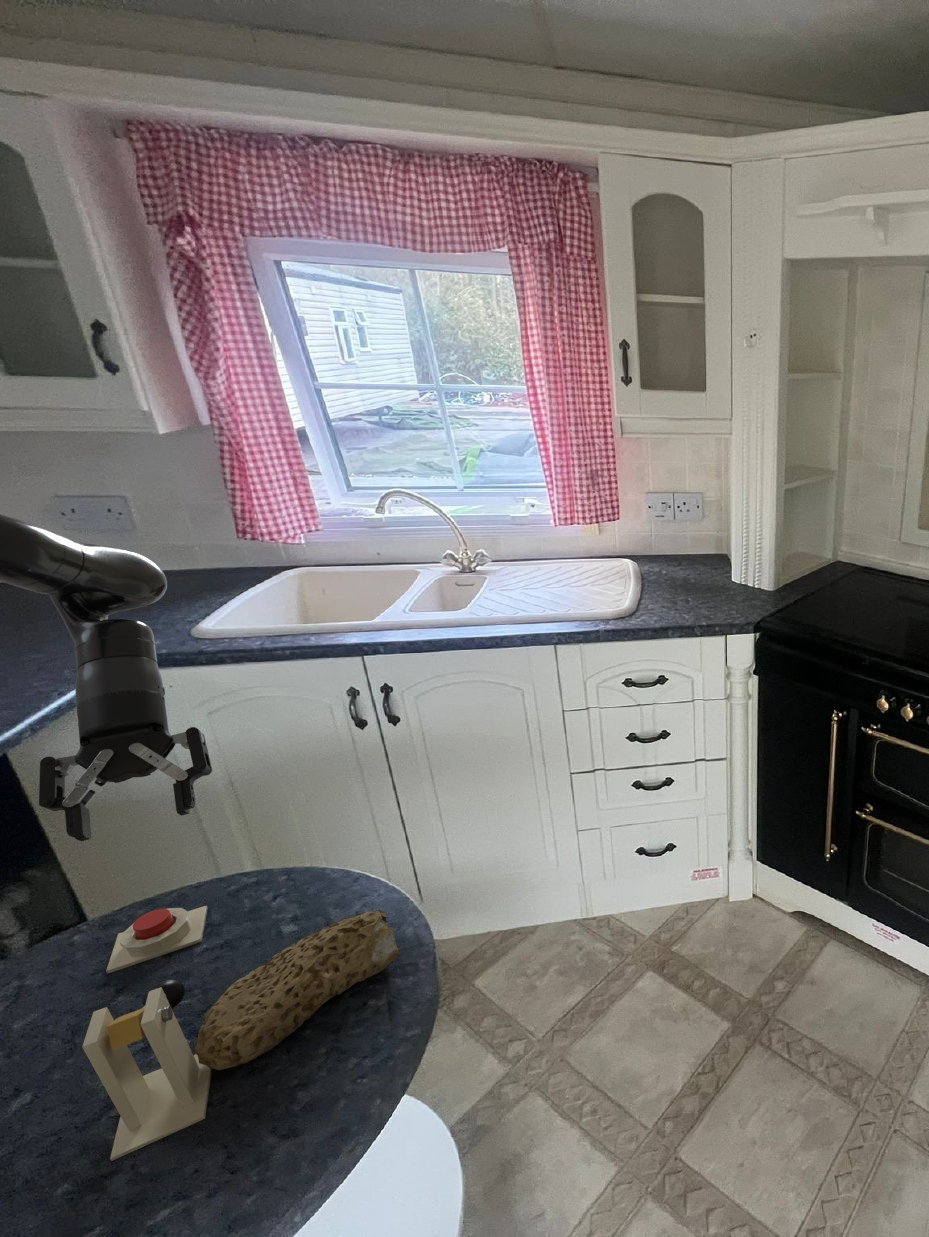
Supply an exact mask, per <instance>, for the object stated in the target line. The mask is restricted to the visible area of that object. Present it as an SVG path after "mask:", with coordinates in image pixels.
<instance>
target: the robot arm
mask: <svg viewBox="0 0 929 1237" xmlns="http://www.w3.org/2000/svg"><path fill="white" fill-rule="evenodd" d="M0 582H1V583H5V584H8V585H11V586H14V587H16V588H20V589H24V590H27V591H31V592H34V593H36V594H42V595H48V596H49V598H50V599H51V602H52V603H53V605H54V608H56V610H57V612H58V614H59V615H60V617H61V619H62V621H63V623H64V625H65V627H66V630H67V631H68V633H69V635H70V637H71V640H72V642H73V644H74V655H75V666H76V667H75V668H76V679H75V687H74V689H75V690H74V691H75V703H76V715H77V727H78V739H79V749H78V751H77V753H76V754H75V755H68V756H64V757H58V758H55V757H54V756H45V757H43V758H42V759H40V761H39V785H38V786H39V788H38V805H39V806H40V807H42V808H44V809H48V810H49V811H51V812H58V811H64V817H65V830H66V831H65V832H66V834H67V835H68V836H69V837H71V838H74V839H75V840H77V841H79V842H85V841H88V840H91V839H92V828H91V815H90V809H89V808H88V805H89V804H90V803H91V802H92V801H93V799H94V798H95V797H96V795H98V794H100V793H101V792H102V791H103V790H104V789H105V788H106V786H108V785H109V783H113V784H118V783H122V782H126V781H129V780H131V779H134V778H144V777H148V776H149V777H150V776H151V774H153V773H155V772H156V771H157V770H159V771H161V772H162V773H164V774H165V775H167V776H169V777H170V778H172V779H173V780H175V783H174V782H173V783H172V788H173V794H174V803H175V811H176V813H177V814H178V815H179V816H182V817H183V816H187V815H189V814H190V813H191V809H194V808H195V806H196V804H197V803H196V796H195V787H194V783H195V782H196V781H197V780H198V779H200V778H202V777H206V776H209V775H211V774H212V773H213V768H212V763H211V759H210V754H209V749H208V746H207V742H206V736H205V734H204V733H203V732H202V731H201V730H200V729H198V727H196V726H191V727H188V728H187V729H186V730H185V731H183V732H179V733H175V734H171V733H170V731H169V723H168V714H167V707H166V706H167V705H166V699H165V698H166V697H165V695H166V691H165V690H166V689H165V686H164V683H163V679H162V674H161V672H160V668H159V664H158V659H157V658H158V656H157V650H156V649H157V648H156V641H155V635H154V632H153V630H152V628H151V627H150V626H149V625H148V624H146V623H145V622H142V621H139V620H135V619H129V618H128V619H125V618H109V615H113V614H117V613H121V612H125V611H129V610H134V609H138V608H142V607H146V606H149V605H151V604H154V603H156V602H158V601H159V600H161V599H162V598H163V597H164V595H165V594H166V592H167V589H168V580H167V577H166V574H165V573H164V571H163V570H162V569H161V567H160V566H158V565H157V564H156V563H155V562H154V561H153V560H151V559H150V558H148V557H146V556H144V555H142V554H140V553H137V552H134V551H131V550H126V549H122V548H117V547H111V546H105V545H100V544H93V543H84V542H77V541H75V540H73V539H70V538H67V537H66V536H63V535H60V534H59V533H56V532H53V531H51V530H49V529H46V528H43V527H41V526H38V525H37V524H36V525H35V524H33V523H30V522H27V521H25V520H21V519H18V518H15V517H11V516H8V515H4V514H2V513H1V514H0ZM177 744H179V745H180V746H181V747H182V748H184V749H185V750H189V755H190V758H191V759H190V760H191V763H192V766H191V767H189V768H187V769H182V768H181V767H179V766H178V765H176V764H174V763H173V762H171V761H170V760H168V759H167V757H168V756H169V755H170V754H171V752H172V751H173V750H174V748H175V747H176V745H177ZM76 766H80V767H81V768H83V769H84V770H85V771H84V772H83V774H81V776H79V778H78V779H77V780H76V781H75V785H74V787H73V788H72V789H71V791H70V792H69V793H68V794H67V795H66V796H65V794H66V793H65V792H66V788H65V787H66V777H67V776H69V775H71V773H72V771H73V769H74V768H76Z"/></svg>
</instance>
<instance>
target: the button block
mask: <svg viewBox="0 0 929 1237" xmlns="http://www.w3.org/2000/svg"><path fill="white" fill-rule="evenodd" d="M208 908H209V907H208V905H203V906H200V907H198V908H193V909H191V910H186V909H184V908H183V907H173V908H170V907H169V908H167V909H168V910H169V911H170V913H171V915H172V917H173V920H174V924H173V926H172V927H171V928H170V929H169V930H167V931H165V932H164V933H162V934H160V935H158V936H155V937H152V938H149V939H146V940H141V939H138V938H137V936H136V934H135V931H134V929H133V924H134V922H133V923H132V924H131V925H130V926H129V927H128V928H126V930H125V931H122V932H119V933H117V935H116V936H117V937H116V939H115V942H114V946H113V949H112V952H111V954H110V958H109V961H108V964H107V967H106V970H105V971H106V974H107V975H108V974H112V973H114V972H117V971H121V970H123V969H126V968H128V967H132V966H135V965H138V964H140V963H143V962H146V961H149V960H152V959H156V958H158V957H160V956H164V955H167V954H169V953H172V952H176V951H178V950H181V949H185V948H187V947H191V946H193V945H196V944H198V943H201V942H202V941H203V936H204V931H205V926H206V920H207V914H208Z"/></svg>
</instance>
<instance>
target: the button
mask: <svg viewBox="0 0 929 1237" xmlns="http://www.w3.org/2000/svg"><path fill="white" fill-rule="evenodd" d="M133 923H134V924H133ZM133 923H132V924H133V929H134V931H135V934H136V936H137V938H138V939H141V940H146V939H149V938H152V937H155V936H158V935H160V934H162V933H164V932H165V931H167V930H169V929H170V928H171V927H172V926H173V924H174V920H173V917H172V915H171V913H170V911H169V910H168V908H158V909H154V910H152V911H151V910H150V911H149V912H147V913H145V914H143V915H141V916H139V917H138V918H137V919H136V920H135V921H134V922H133Z"/></svg>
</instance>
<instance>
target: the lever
mask: <svg viewBox="0 0 929 1237" xmlns="http://www.w3.org/2000/svg"><path fill="white" fill-rule="evenodd" d="M160 987H162V989H163V991H164V994H165V996H166V998H167V1000H168V1002H169V1004H170V1006H171V1008H172V1010H173V1009H175V1008H176V1007H177V1006H178V1005H179V1004H181V1002H182V1000H183V999H184V997H185V995H186V994H185V993H186V988H185V985H184V983H182V982H181V981H179V980H178V979H177V980H176V979H166V980H162V981H159V982H157V983H155V984H154V985H153V986H151V987H150V988H149V989H147V991H146V993H145V994H144V997H143V999H142V1006H143V1007H141V1008H140V1009H136V1010H134V1011H132V1012H128V1013H126V1014H124V1015H121V1016H118V1017H117V1018H115V1019H114V1021H113V1022H112V1023H111V1024H110V1025H108V1026H107V1029H108V1034H109V1039H110V1044H111V1049H112V1050H115V1049H118V1048H120V1047H123V1046H125V1045H127V1046H128V1045H130V1044H133V1043H136V1042H138V1041H141V1040H142V1039H144V1038H145V1037H146V1035H145V1033H144V1031H143V1029H142V1027H141V1021H142V1017H143V1013H144V1009H145V1005H146V1001H147V997H148V993H149V991H152V990H155V989H158V988H160Z"/></svg>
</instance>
